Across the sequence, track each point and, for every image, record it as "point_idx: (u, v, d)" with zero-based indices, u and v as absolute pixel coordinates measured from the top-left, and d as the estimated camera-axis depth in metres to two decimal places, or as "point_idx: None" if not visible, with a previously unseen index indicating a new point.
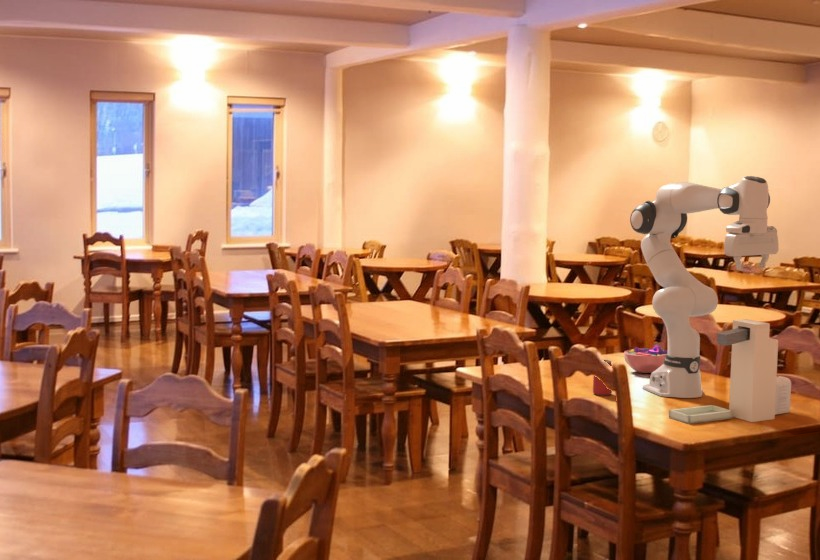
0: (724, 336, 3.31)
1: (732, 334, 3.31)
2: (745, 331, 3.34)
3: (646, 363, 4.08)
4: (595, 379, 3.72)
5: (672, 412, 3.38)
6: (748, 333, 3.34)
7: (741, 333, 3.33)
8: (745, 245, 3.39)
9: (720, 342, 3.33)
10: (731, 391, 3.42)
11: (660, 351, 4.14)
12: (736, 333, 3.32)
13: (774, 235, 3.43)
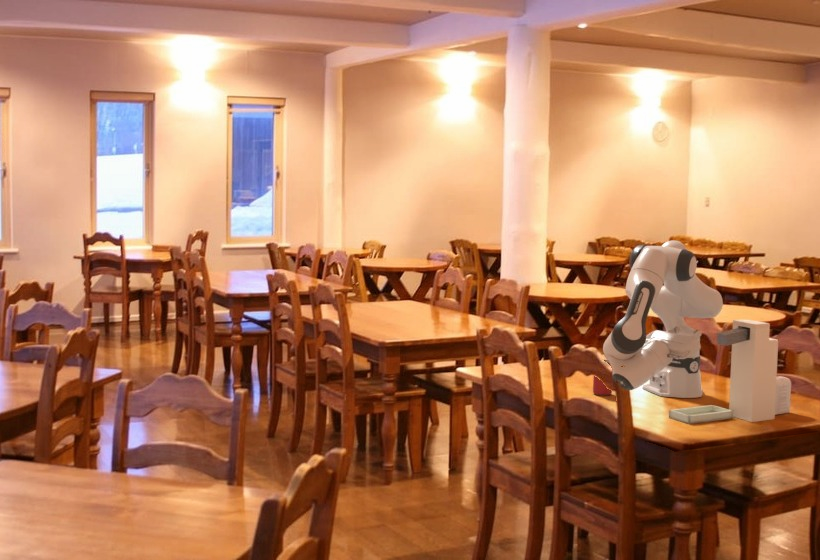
0: (724, 336, 3.31)
1: (732, 334, 3.31)
2: (745, 331, 3.34)
3: None
4: (595, 379, 3.72)
5: (672, 412, 3.38)
6: (748, 333, 3.34)
7: (741, 333, 3.33)
8: None
9: (720, 342, 3.33)
10: (731, 391, 3.42)
11: None
12: (736, 333, 3.32)
13: None
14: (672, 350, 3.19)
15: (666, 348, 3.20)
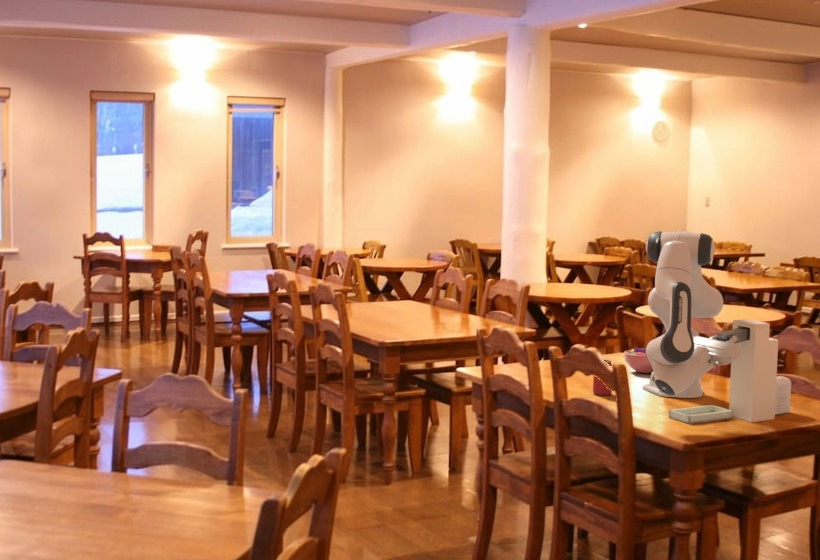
0: (724, 336, 3.31)
1: (732, 334, 3.31)
2: (745, 331, 3.34)
3: (646, 363, 4.08)
4: (595, 379, 3.72)
5: (672, 412, 3.38)
6: (748, 333, 3.34)
7: (741, 333, 3.33)
8: None
9: None
10: (731, 391, 3.42)
11: None
12: (736, 333, 3.32)
13: None
14: (713, 356, 3.24)
15: (707, 354, 3.25)
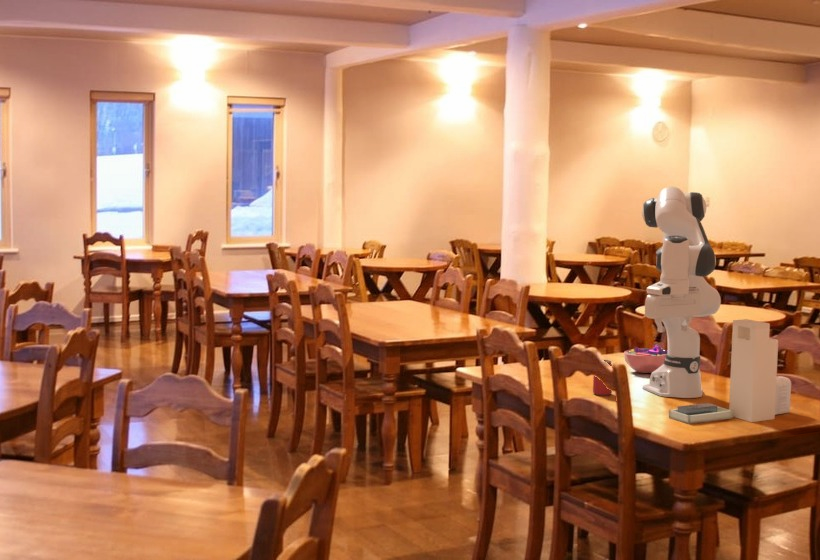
0: (684, 410, 3.34)
1: (692, 409, 3.35)
2: (705, 408, 3.37)
3: (646, 363, 4.08)
4: (595, 379, 3.72)
5: (672, 412, 3.38)
6: (708, 410, 3.38)
7: (701, 409, 3.37)
8: (667, 307, 3.26)
9: None
10: (731, 391, 3.42)
11: (660, 351, 4.14)
12: (696, 409, 3.36)
13: (696, 297, 3.31)
14: None
15: None
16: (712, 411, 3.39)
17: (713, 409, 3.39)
